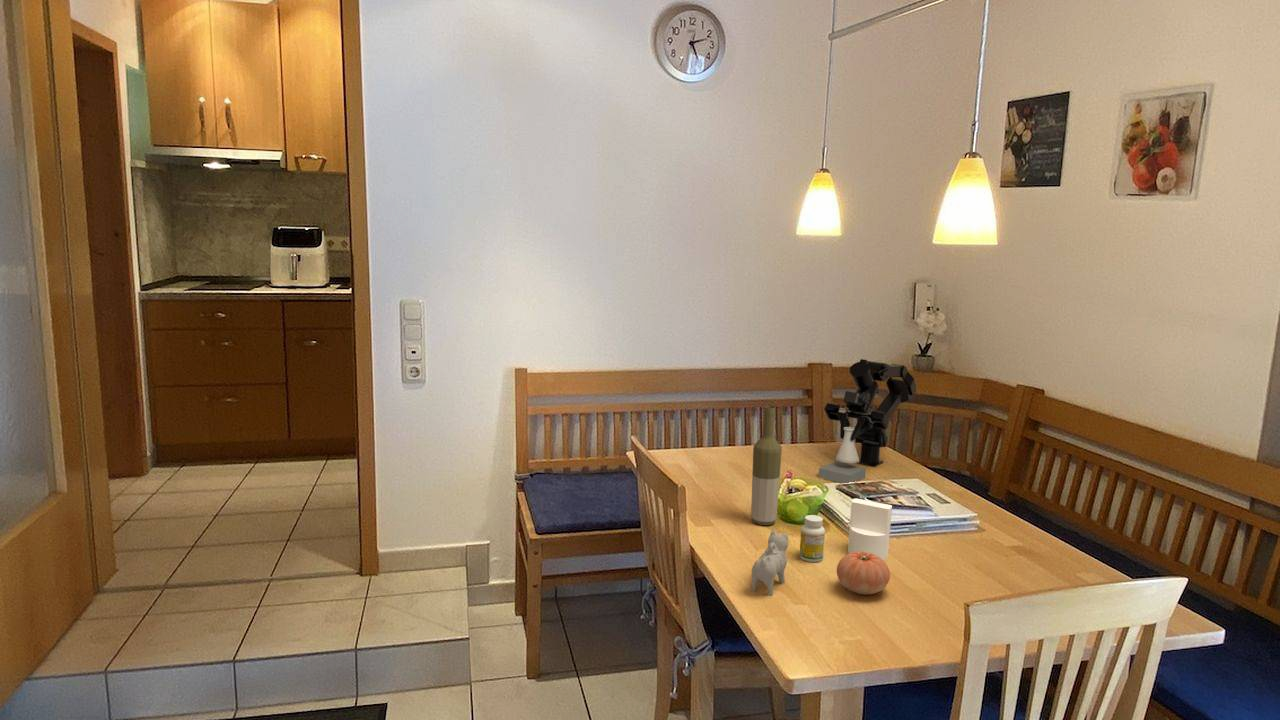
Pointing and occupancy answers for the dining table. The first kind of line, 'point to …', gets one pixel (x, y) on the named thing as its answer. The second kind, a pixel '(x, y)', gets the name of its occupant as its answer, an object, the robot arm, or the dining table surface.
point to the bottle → (766, 473)
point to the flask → (847, 448)
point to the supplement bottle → (812, 539)
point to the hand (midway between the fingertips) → (846, 439)
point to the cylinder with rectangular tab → (869, 527)
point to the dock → (842, 472)
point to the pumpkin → (863, 572)
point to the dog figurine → (771, 562)
